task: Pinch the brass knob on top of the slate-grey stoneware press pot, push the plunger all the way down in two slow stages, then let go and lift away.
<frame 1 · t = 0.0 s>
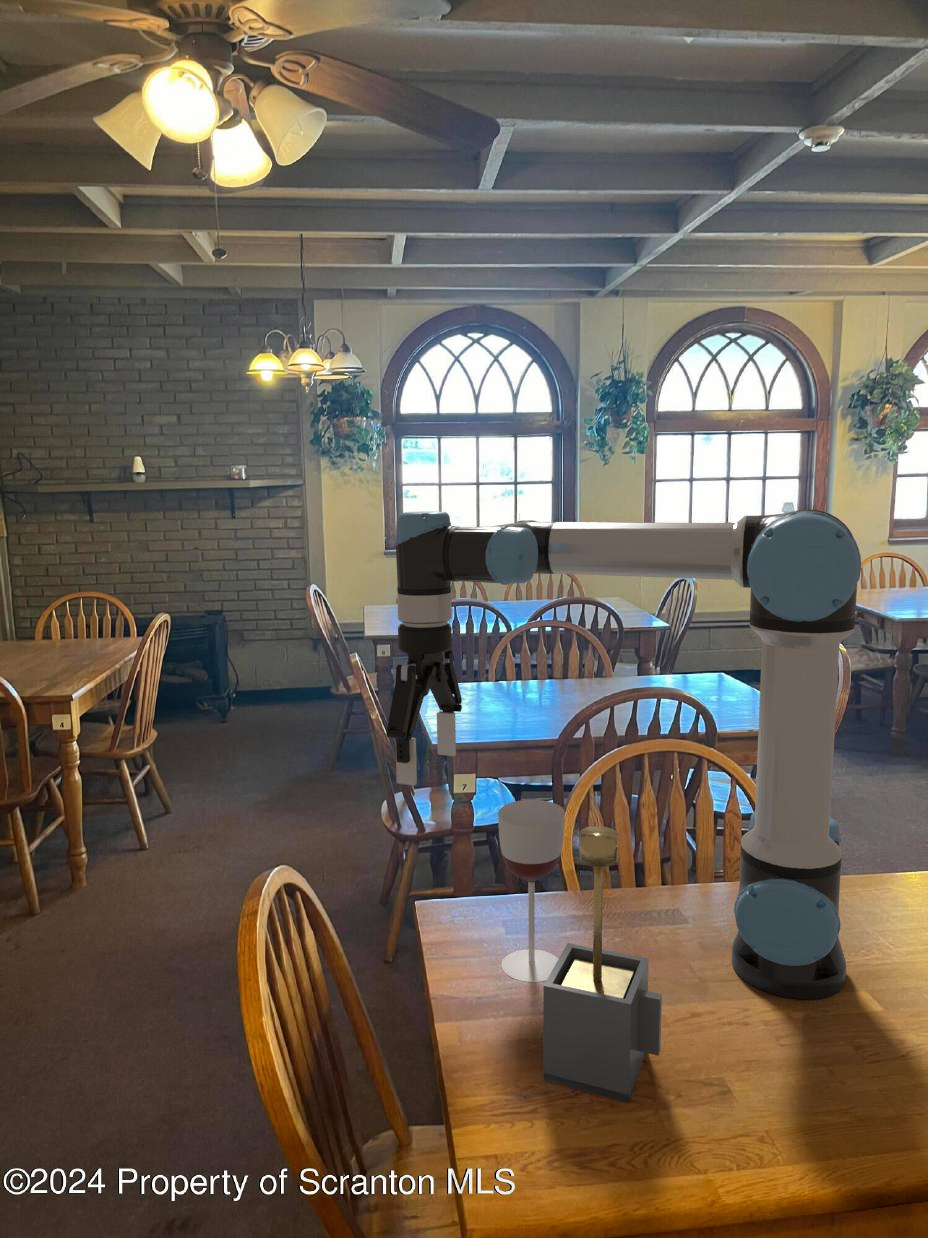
hand: (427, 768, 127), 28 cm above the table, fingers open, 13 cm apart
plunger: (598, 911, 102), point 20 cm above the table, slide at 0.0 cm
wineglass: (531, 966, 127), on the table
press pot: (596, 1065, 105), on the table
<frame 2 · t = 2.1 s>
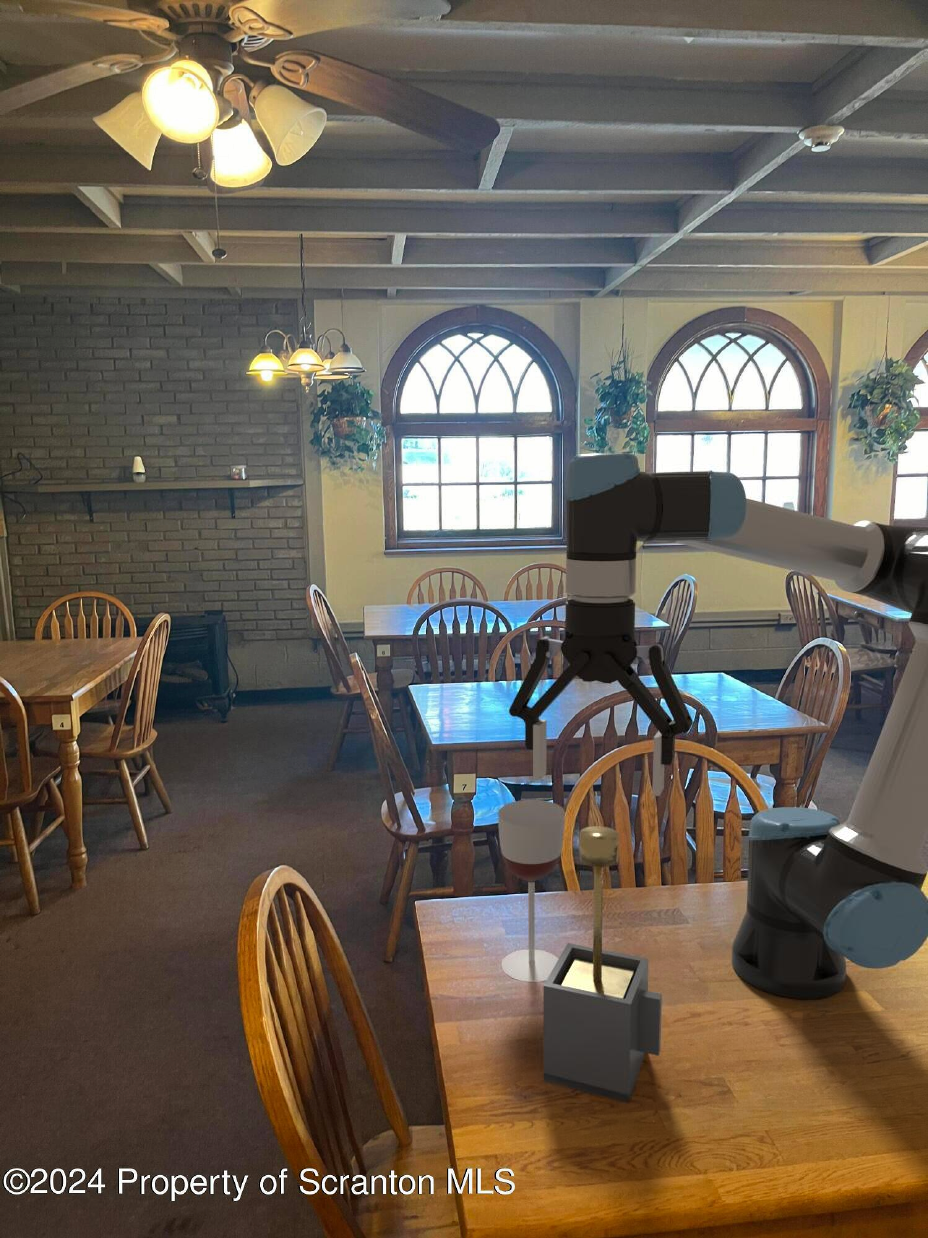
hand: (597, 784, 100), 35 cm above the table, fingers open, 13 cm apart
nothing on the table moved.
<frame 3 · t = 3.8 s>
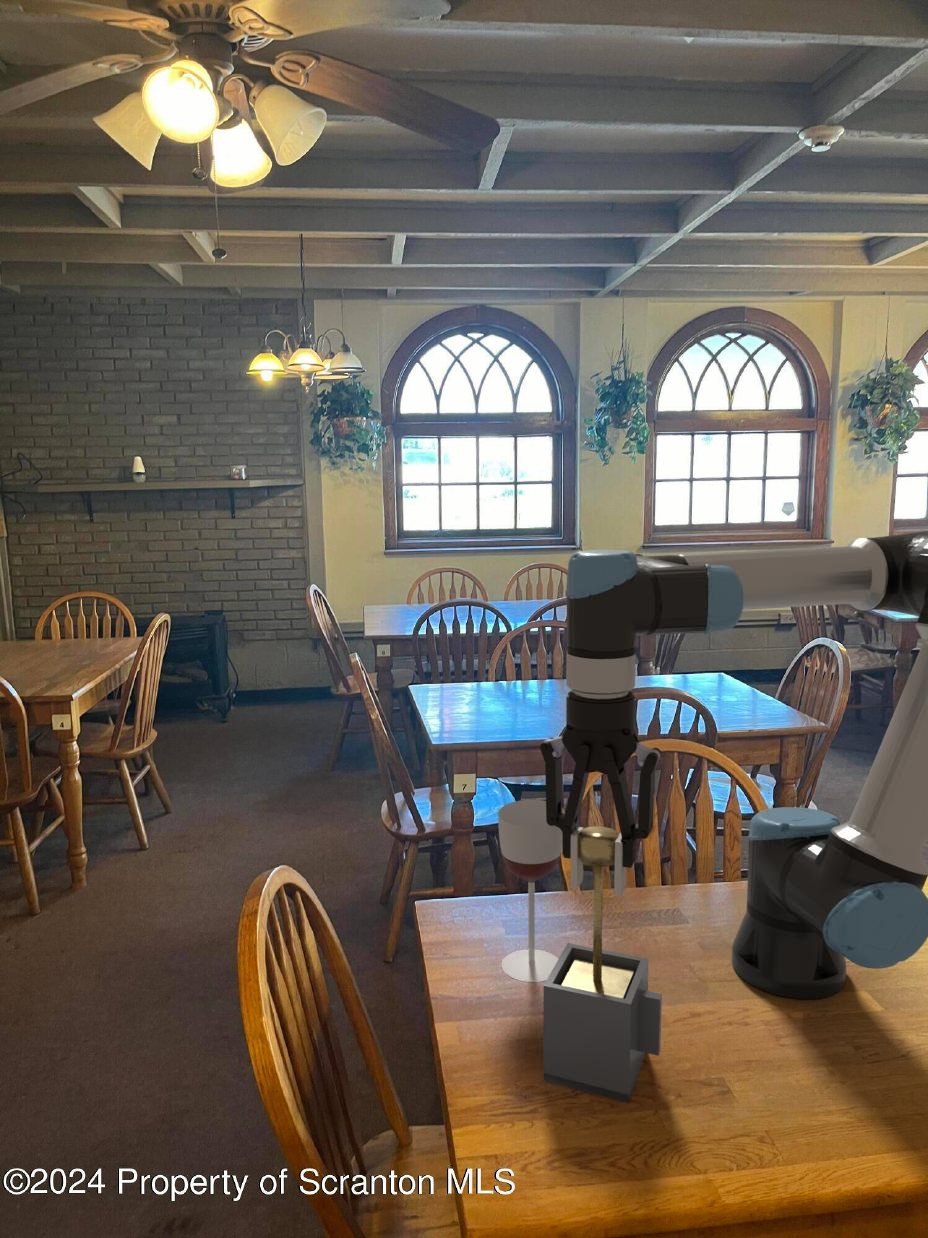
hand: (598, 887, 102), 22 cm above the table, fingers closed on plunger, 4 cm apart
plunger: (598, 911, 102), point 20 cm above the table, slide at 0.0 cm, touching gripper
everything else where it was.
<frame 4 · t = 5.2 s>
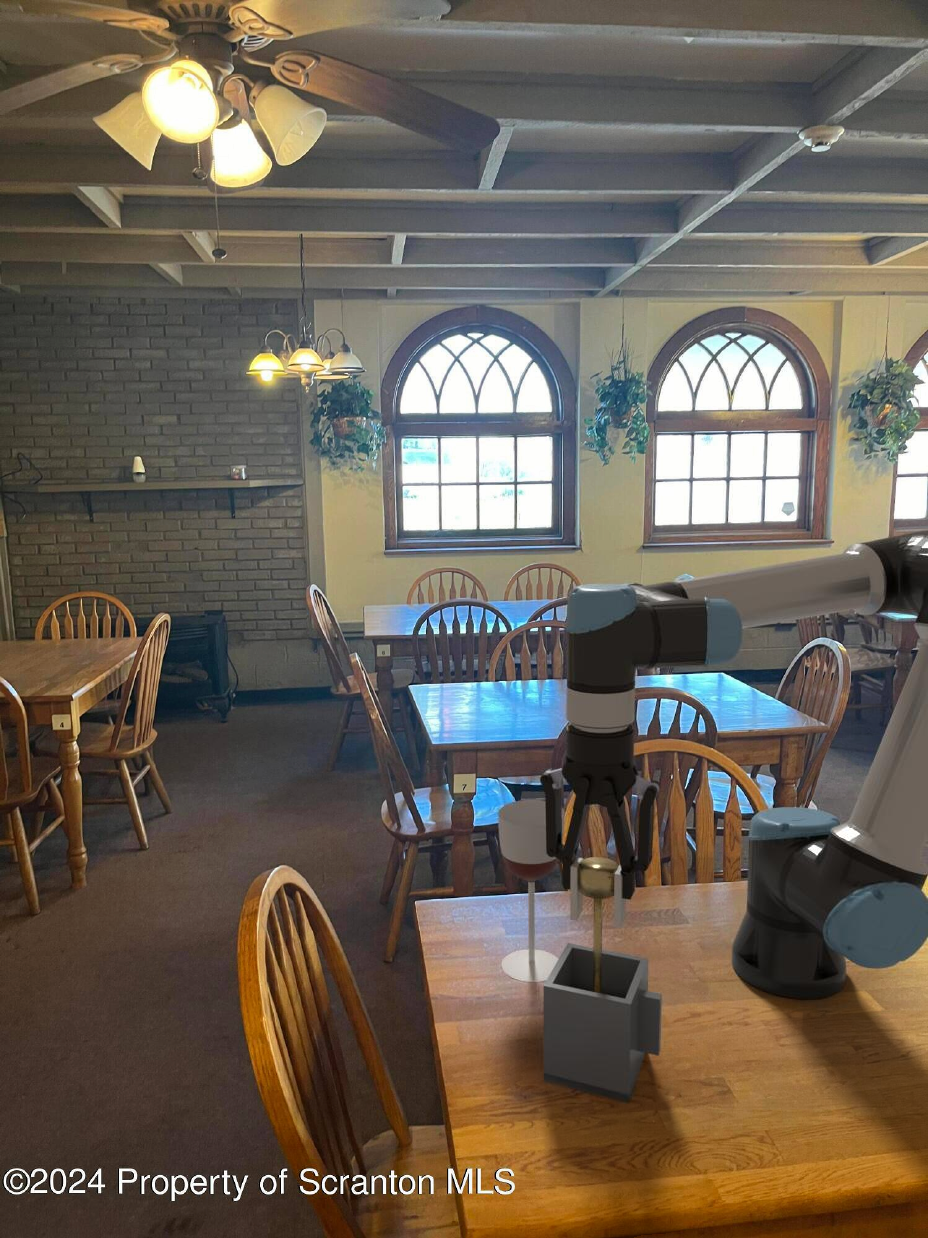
hand: (597, 918, 102), 19 cm above the table, fingers closed on plunger, 4 cm apart
plunger: (597, 941, 103), point 16 cm above the table, slide at 3.8 cm, touching gripper
everything else where it was.
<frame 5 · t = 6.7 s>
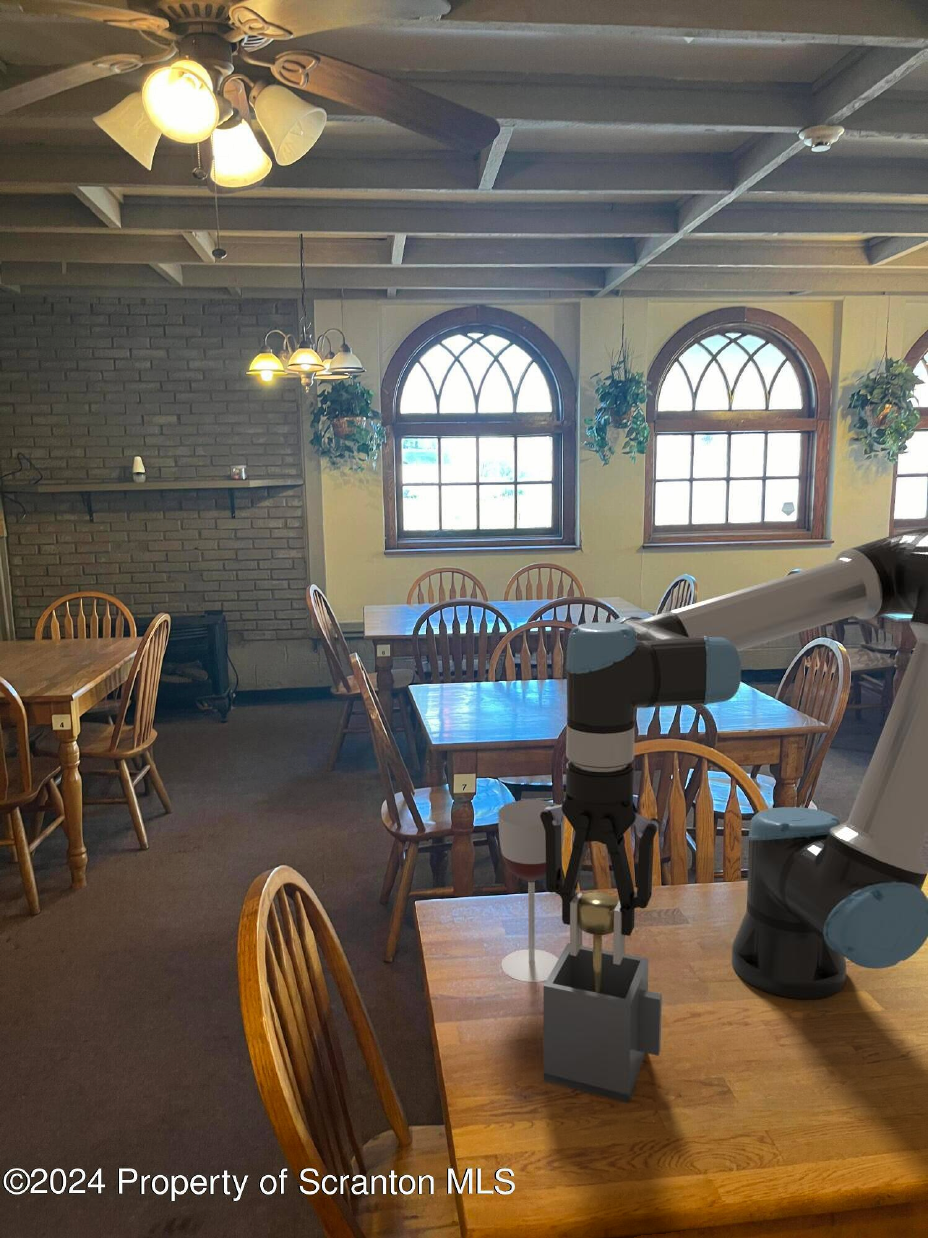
hand: (597, 953, 103), 14 cm above the table, fingers closed on plunger, 4 cm apart
plunger: (597, 976, 104), point 11 cm above the table, slide at 8.2 cm, touching gripper
everything else where it was.
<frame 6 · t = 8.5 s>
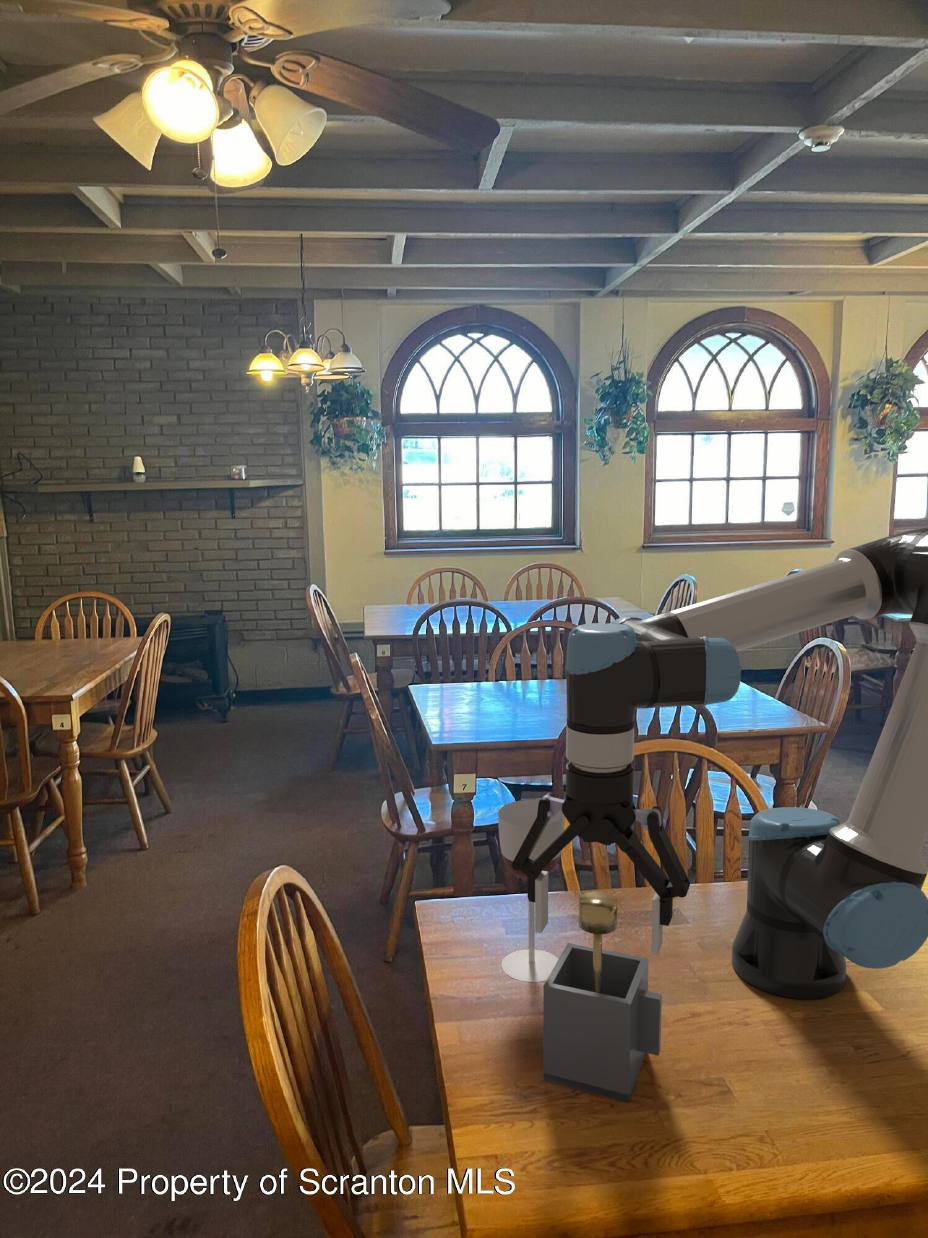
hand: (597, 938, 103), 16 cm above the table, fingers open, 13 cm apart
plunger: (597, 975, 104), point 11 cm above the table, slide at 8.1 cm
everything else where it was.
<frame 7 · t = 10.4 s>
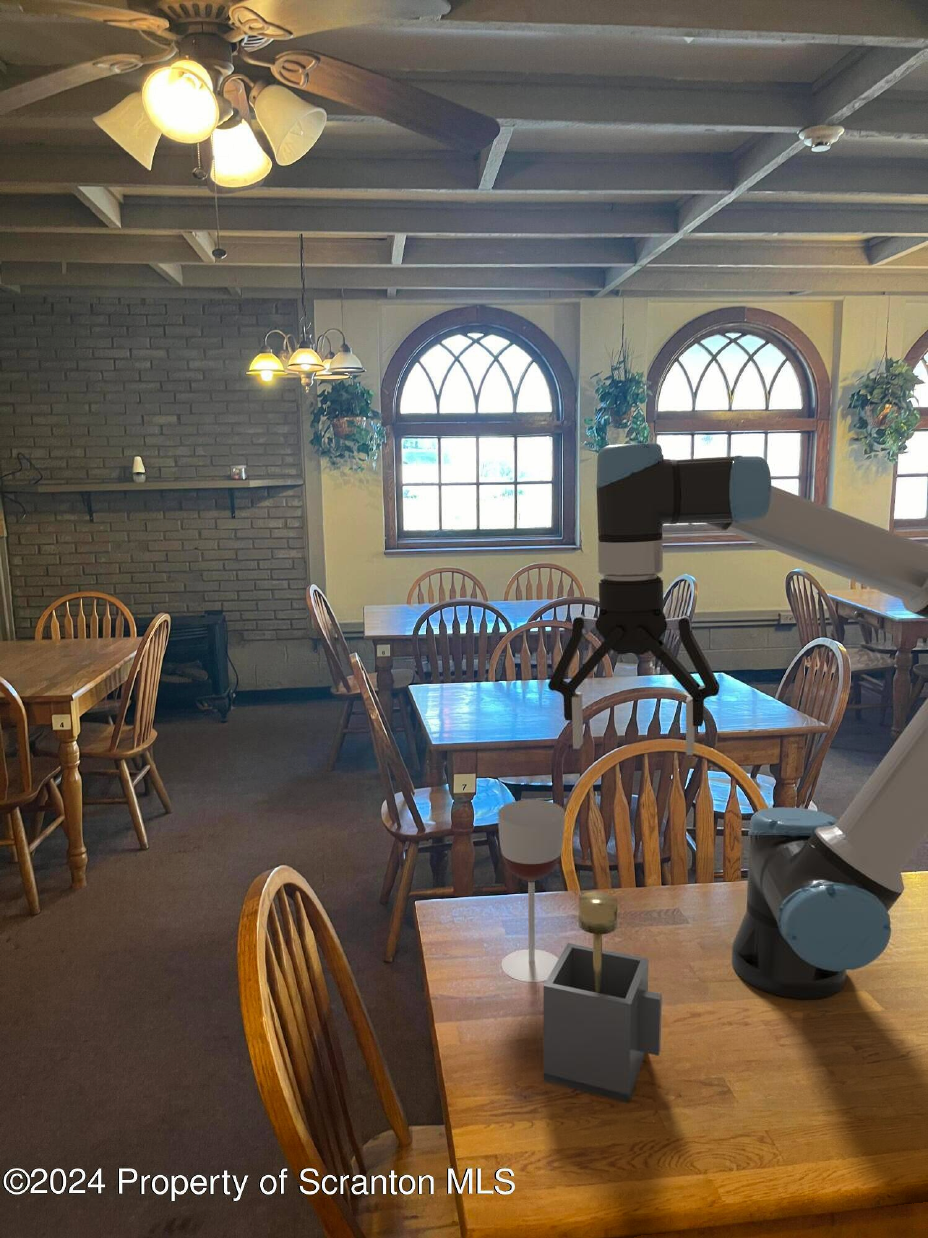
hand: (633, 749, 108), 36 cm above the table, fingers open, 13 cm apart
nothing on the table moved.
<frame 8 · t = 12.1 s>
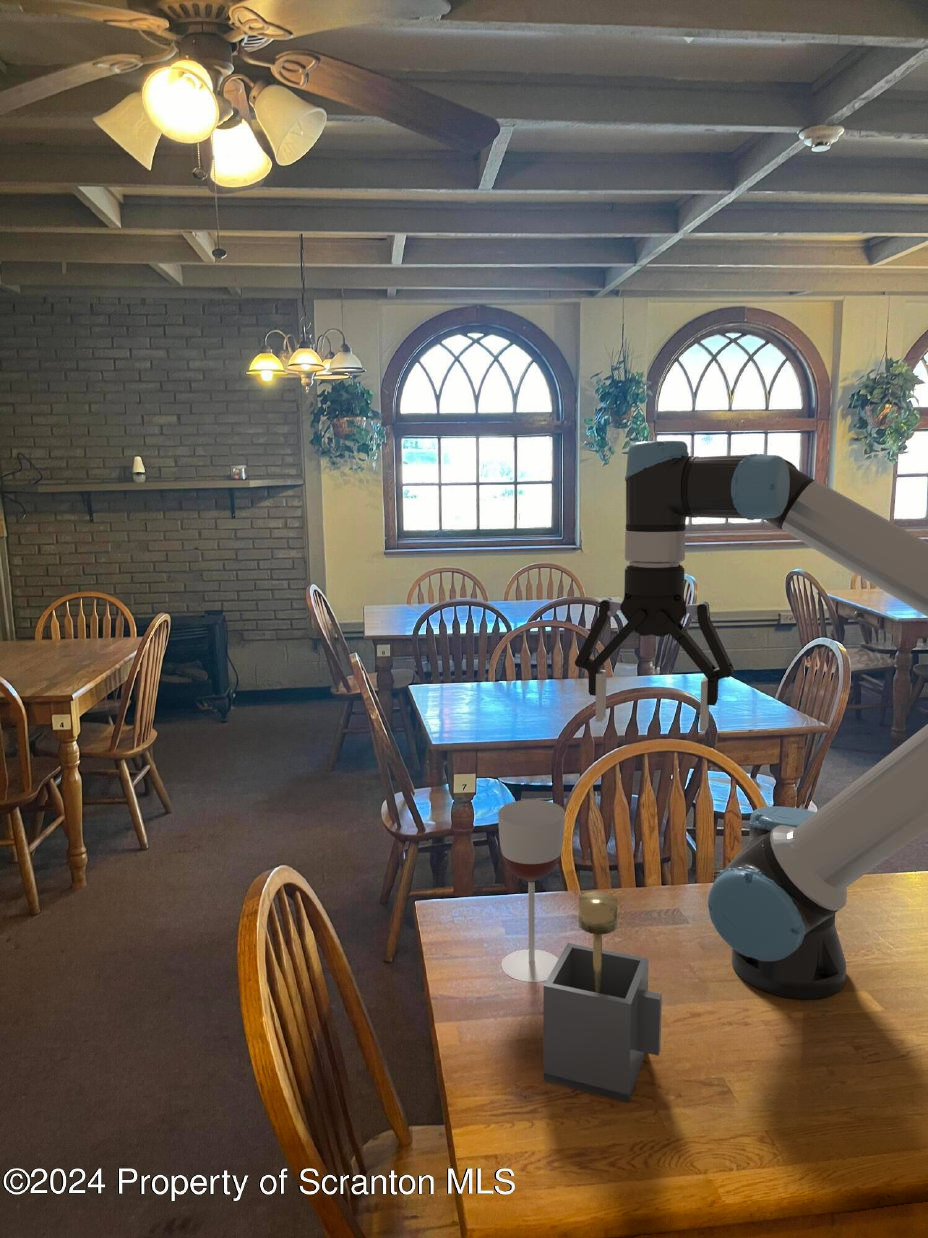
hand: (651, 724, 117), 37 cm above the table, fingers open, 13 cm apart
nothing on the table moved.
at the end: plunger slide at 8.1 cm; the gripper is holding nothing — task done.
